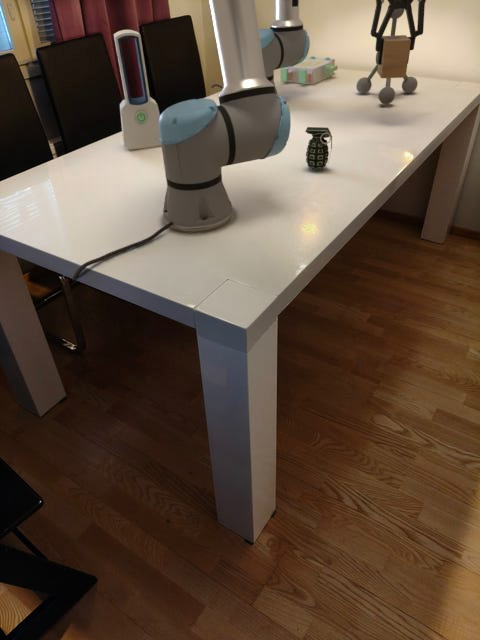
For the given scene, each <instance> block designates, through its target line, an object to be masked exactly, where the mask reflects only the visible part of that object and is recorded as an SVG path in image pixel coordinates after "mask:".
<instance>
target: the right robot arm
mask: <svg viewBox="0 0 480 640" xmlns="http://www.w3.org/2000/svg"><path fill="white" fill-rule="evenodd" d="M387 2H388V6H389V7H388V6H387V10H386V12H385V15H384V17H383V19H382V21H381V24H380V26H379V23H380V16H381V12H382V7H383V4H384V3H385V0H375V9H374V15H373V19H372V24H371V29H370V36H371V37H373V38H375V49H374V50H375V52H377V51H379V53H378V62H377V63H378V64H379V65H381V61H382V53H383V44H384V39H383V38H382V36H384V33H385V31H386V30H387V27H388V24H389V23H390V20H391V19H392V18H391V15H392V13H393V12H394V10H395V9H400V8H402V9H405V10H404V12H405V13H406V19H407V24H408V29H409V35H410V36H407V37H408V38H409V39H410V40H411V44H410V51H409V55H410V53H411V51H414V49H415V43H416V38H417V37H419V36H422V35H423V34H424V27H425V26H424V25H425V8H426V5H425V4H426V2H427V0H417V2H418V6H417V7H418V8H417V27H416V25H415V20H414V15H413V8H412V3H413V2H414V0H407V1H399V0H387ZM389 4H390V5H389ZM273 14H274V16H273V18H274V19H273V20H272V21H271V23H270V25H269V28H258V29H259V35H260V42H261V49H262V56H263V63H264V70H265V77H266V78H267V80H269V81H270V82H271V83H272V84H274V86H275V93H276V95H279V94H278V91H277V86H276V84H275V75H274V74H275V72H274V71H275V70H276V71H277V70H281V68H285V67H292V66H294V65H297V64H300V63H301V62H303V60H305V59H307V56H308V55H309V51H310V46H311V42H310V41H311V40H310V36H309V35H308V31H307V30H306V29H305V28H304V22H303V21H302V20H301V18H300V0H298V6H297V7H292V0H273ZM378 26H379V29H378ZM377 31H378V32H377ZM409 61H410V56H409V57H408V62H409ZM214 87H218V88H219V89H221V90H222V89H223V87H224V86H222V85H220V84H217V83H214V84H212V85H211V87H210V88H211V89H213V88H214Z"/></svg>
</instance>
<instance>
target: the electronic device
mask: <svg viewBox="0 0 480 640" xmlns="http://www.w3.org/2000/svg"><path fill="white" fill-rule="evenodd" d="M113 39H114V45H115V51H116V56H117V61H118V66H119V67H118V68H119V72H120V78H121V84H122V90H123V95H124V99H122V101H121V102H120V103H119V114H120V123H121V125H120V126H121V136H122V141H123V145H124V147H125V148H126V149H127V150H129V151H132V150H138V149H147V148H152V147H155V148H156V147H161V142H160V140H159V136H160V134H159V118H160V115H161V113H160V108H159V105H158V103H157V102H156V100H155V99H153V97H151V95H150V89H149V82H148V81H149V80H148V76H147V69H146V63H145V55H144V49H143V43H142V36H141V34H140V32H138V31H136V30H133V29H122V30H118V31H117V32H115V33H113ZM124 39H134V44H135V50H136V56H137V62H138V63H137V64H138V68H139V75H140V81H141V89H142V93H143V95H142V96H139V97H131V94H130V89H129V83H128V77H127V72H126V66H125V61H124V54H123V49H122V43H121V41H122V40H124Z"/></svg>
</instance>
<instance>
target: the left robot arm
mask: <svg viewBox="0 0 480 640" xmlns="http://www.w3.org/2000/svg"><path fill="white" fill-rule="evenodd" d="M399 1H407V0H399ZM208 3H209V7H210V13H211V17H212V25H213V30H214V36H215V37H214V38H215V41H216V47H217V53H218V59H219V64H220V71H221V77H222V83H223V86H222V87H223V89H222V88H221V91H220V92H219V94H218V103H219V105H217V103H216V101H215V100H214V99H211V98H204V97H203V98H202V97H201V98H198V99H196V98H192V99H187V100H183V101H180V102H177V103H175V104H172V105H170V106H168V107H167V108H166V109H164V110H163V111H162V112H161V113H160V118H159V134H160V136H159V140H160V142H161V146H160V147H161V153H162V159H163V168H164V174H165V180H166V190H165V191H166V192H165V196H164V203H163V207H162V218H163V222H164V224H165V225H164V226H163V227H161V228H160V229H158V230H157V231H156V232H154V233H153V234H152V235H150V236H148V237H146V238H144V239H142V240H140V241H137V242H134V243H131V244H128V245H125V246H123V247H121V248H118V249H115V250H113V251H110V252H108V253H106V254H104V255H101V256H100V257H96V258H94V259H91V260H88V261H87V262H84V263H83V264H81V265H80V266H79V267H78V269H77V270H76V271H75V272H74V274H73V276H72V279H71V280H72V281H76V280H77V279H78V278H79V276H80V275H81V273H82V271H83V270H85V269H86V268H87V267H89V266H91V265H94V264H96V263H100V262H101V261H104V260H106V259H109V258H110V257H113V256H115V255H117V254H121V253H123V252H125V251H129V250H131V249H133V248H137V247H139V246H141V245H144V244H146V243H148V242H150V241H152V240H153V239H155V238H157V237H158V236H159V235H160V234H161V233H163V232H164V231H166V230H167V229H171V230H173V231H177V232H180V233H190V234H191V233H192V234H193V233H194V234H195V233H196V234H197V233H205V232H206V233H207V232H210V231H215V230H216V229H220V228H222V227H224V226H226V225H227V224H228V223H230V221H231V220H232V218H233V216H234V212H233V211H234V210H233V205H232V201H231V200H230V197H229V195H228V192H227V190H226V187H225V184H224V182H223V175H222V174H223V173H222V168H223V167H227V166H232V165H238V164H242V163H249V162H253V161H257V160H265V159H267V158H270V157H273V156H274V157H275V156H276V155H280V154H281V153H282V152H283V150H284V149H285V148H286V146H287V143H288V141H289V139H290V134H291V122H292V121H291V112H290V111H291V110H290V108H289V105H288V104H287V100H286V98H285V97H283V96H282V95H280V94H278V95H276V93H275V87H276V85H275V86H274V84H275V83H274V84H272V83H271V82H270V81H269V80H267V78H266V77H265V70H264V63H263V56H262V49H261V42H260V35H259V29H260V28H259V22H258V14H257V9H256V2H255V0H208ZM297 6H298V0H292V7H297Z"/></svg>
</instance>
